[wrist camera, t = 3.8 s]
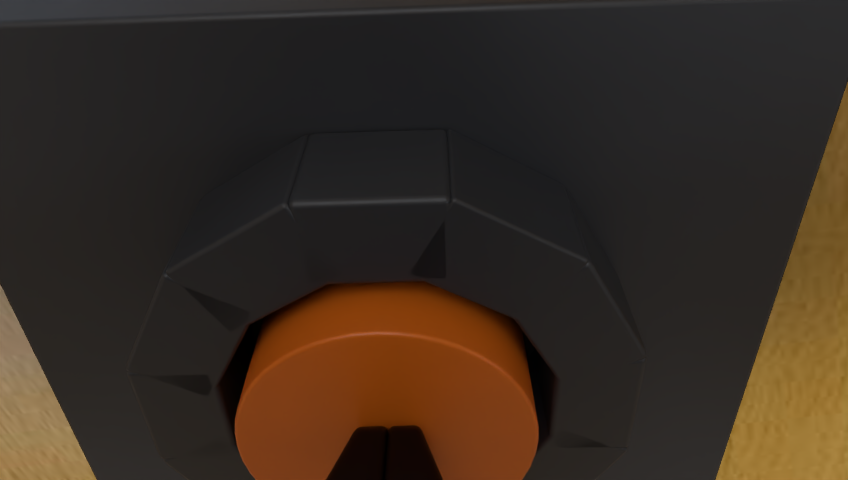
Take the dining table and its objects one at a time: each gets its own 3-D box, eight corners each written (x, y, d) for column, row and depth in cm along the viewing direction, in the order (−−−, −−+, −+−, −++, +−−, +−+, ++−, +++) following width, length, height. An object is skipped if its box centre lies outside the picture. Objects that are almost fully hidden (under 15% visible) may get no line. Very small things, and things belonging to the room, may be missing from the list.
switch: (527, 229, 10) (550, 329, 8) (515, 421, 12) (530, 531, 10) (241, 237, 10) (202, 337, 8) (284, 427, 12) (261, 537, 10)
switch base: (797, -52, 10) (985, 42, 7) (675, 418, 16) (742, 595, 12) (-32, -22, 10) (-252, 84, 7) (148, 431, 16) (76, 607, 12)
